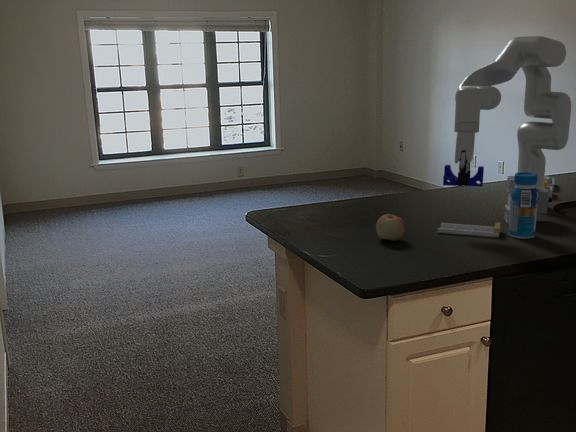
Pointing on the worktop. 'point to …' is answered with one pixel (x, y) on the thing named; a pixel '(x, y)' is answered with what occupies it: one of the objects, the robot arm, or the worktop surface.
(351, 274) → the worktop surface
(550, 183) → the cup tray
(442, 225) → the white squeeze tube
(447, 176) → the blue plastic bracket
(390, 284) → the worktop surface
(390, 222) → the apple
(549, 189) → the clamp tray
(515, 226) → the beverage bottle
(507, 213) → the circuit breaker
